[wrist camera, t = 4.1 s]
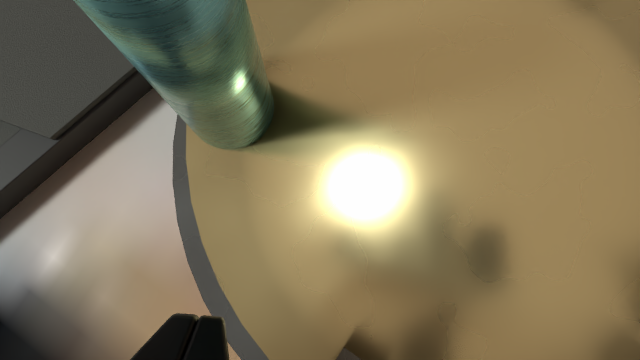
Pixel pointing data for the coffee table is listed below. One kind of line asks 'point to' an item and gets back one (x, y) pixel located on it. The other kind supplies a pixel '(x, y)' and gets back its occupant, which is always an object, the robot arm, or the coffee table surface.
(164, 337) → the robot arm
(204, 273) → the dark grey round disc
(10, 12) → the picture frame
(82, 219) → the coffee table surface
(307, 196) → the tan round piece
